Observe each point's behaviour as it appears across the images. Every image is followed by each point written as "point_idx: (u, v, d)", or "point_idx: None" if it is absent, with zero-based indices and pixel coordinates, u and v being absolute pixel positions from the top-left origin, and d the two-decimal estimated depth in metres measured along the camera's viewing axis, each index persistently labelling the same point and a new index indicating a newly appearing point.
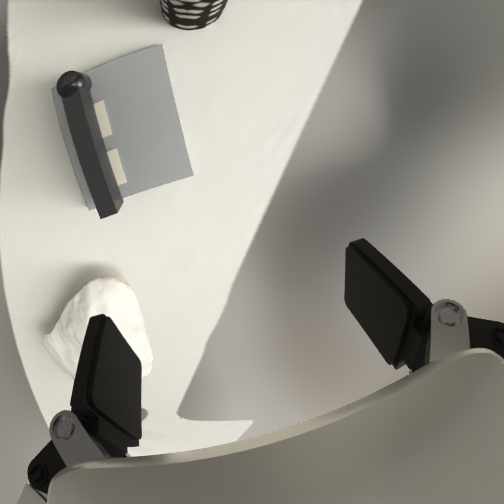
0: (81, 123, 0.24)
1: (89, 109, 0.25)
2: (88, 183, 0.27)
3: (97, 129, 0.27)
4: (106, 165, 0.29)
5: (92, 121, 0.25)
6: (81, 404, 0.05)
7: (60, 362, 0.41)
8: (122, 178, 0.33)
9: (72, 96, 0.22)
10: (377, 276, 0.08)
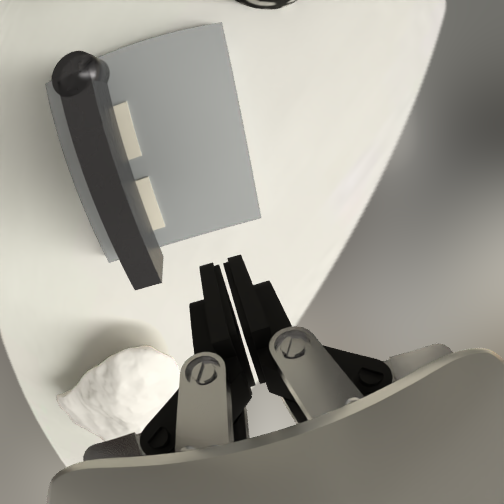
0: (96, 142, 0.15)
1: (108, 117, 0.16)
2: (112, 240, 0.18)
3: (122, 149, 0.18)
4: (138, 208, 0.20)
5: (114, 137, 0.16)
6: (227, 339, 0.07)
7: (80, 423, 0.32)
8: (159, 221, 0.24)
9: (79, 94, 0.13)
10: (232, 295, 0.09)
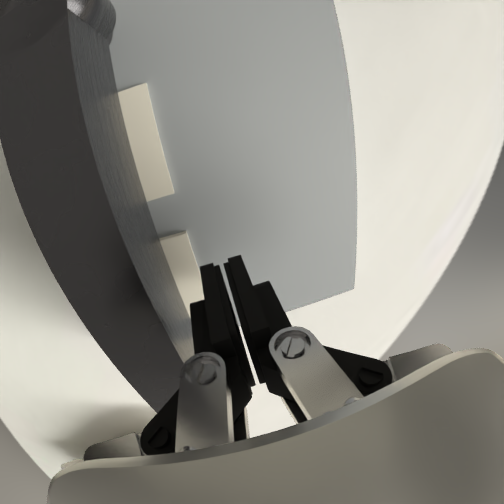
0: (71, 183, 0.05)
1: (105, 113, 0.06)
2: (132, 381, 0.09)
3: (136, 190, 0.08)
4: (176, 312, 0.10)
5: (118, 164, 0.07)
6: (227, 339, 0.07)
7: None
8: None
9: (31, 50, 0.03)
10: (232, 295, 0.09)
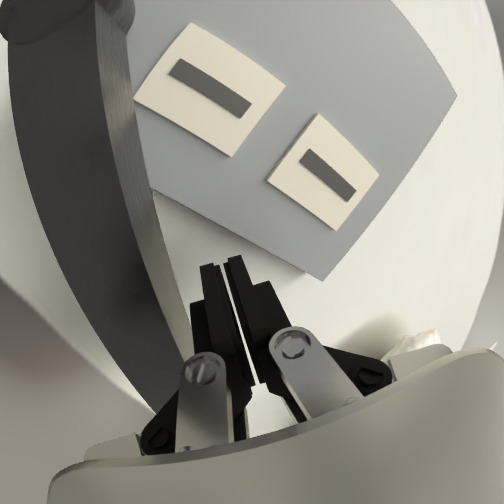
0: (87, 177, 0.05)
1: (122, 108, 0.06)
2: (131, 376, 0.09)
3: (145, 187, 0.09)
4: (177, 309, 0.10)
5: (132, 161, 0.07)
6: (227, 339, 0.07)
7: None
8: (368, 172, 0.13)
9: (54, 38, 0.03)
10: (232, 295, 0.09)
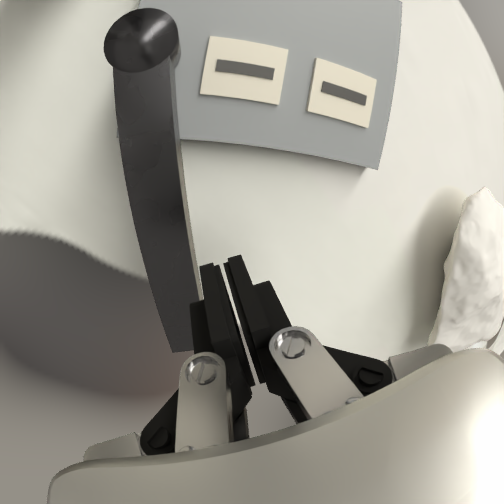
0: (158, 152, 0.11)
1: (175, 118, 0.12)
2: (156, 293, 0.14)
3: (182, 168, 0.14)
4: (193, 252, 0.16)
5: (178, 149, 0.12)
6: (227, 339, 0.07)
7: (458, 349, 0.30)
8: (368, 80, 0.16)
9: (145, 73, 0.09)
10: (232, 295, 0.09)
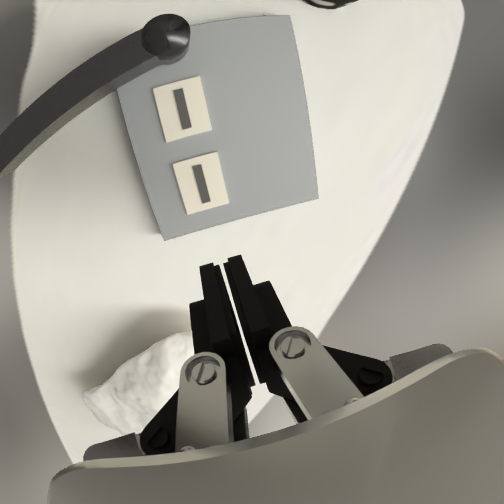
0: (94, 80, 0.13)
1: (122, 80, 0.15)
2: (12, 125, 0.12)
3: (94, 100, 0.16)
4: (44, 136, 0.15)
5: (103, 91, 0.15)
6: (227, 339, 0.07)
7: (107, 421, 0.32)
8: (223, 197, 0.25)
9: (141, 48, 0.13)
10: (232, 295, 0.09)
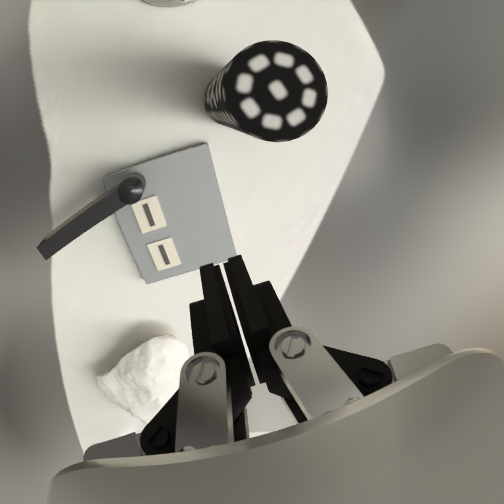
0: (98, 216, 0.31)
1: None
2: (56, 233, 0.30)
3: None
4: None
5: None
6: (227, 339, 0.07)
7: (113, 397, 0.50)
8: (177, 261, 0.43)
9: (119, 200, 0.31)
10: (232, 295, 0.09)
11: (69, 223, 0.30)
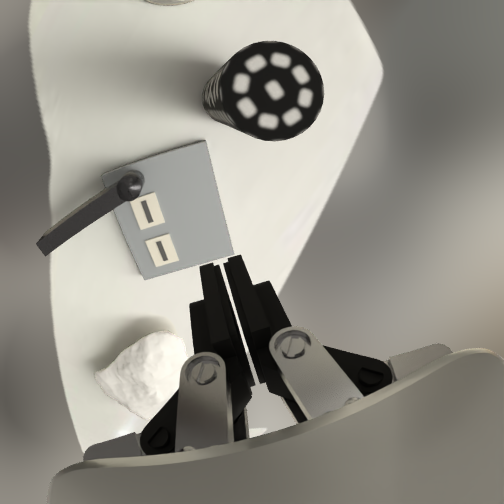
0: (97, 212, 0.31)
1: None
2: (56, 229, 0.31)
3: None
4: None
5: None
6: (227, 339, 0.07)
7: (110, 392, 0.51)
8: (175, 257, 0.44)
9: (118, 197, 0.31)
10: (232, 295, 0.09)
11: (68, 219, 0.31)
